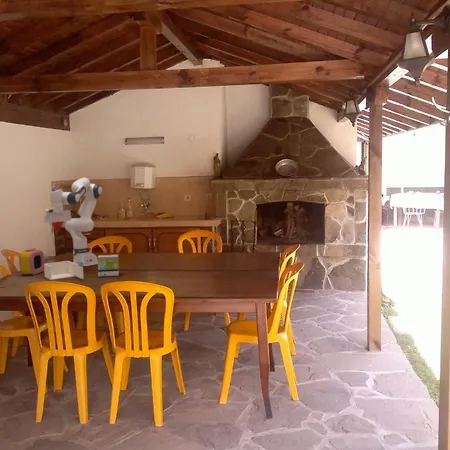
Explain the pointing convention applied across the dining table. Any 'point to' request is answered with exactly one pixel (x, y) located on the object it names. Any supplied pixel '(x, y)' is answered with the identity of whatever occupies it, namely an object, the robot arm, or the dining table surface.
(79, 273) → the lid flap
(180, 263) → the dining table surface
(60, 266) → the carton
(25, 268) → the alarm clock
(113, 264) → the tea box
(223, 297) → the dining table surface
